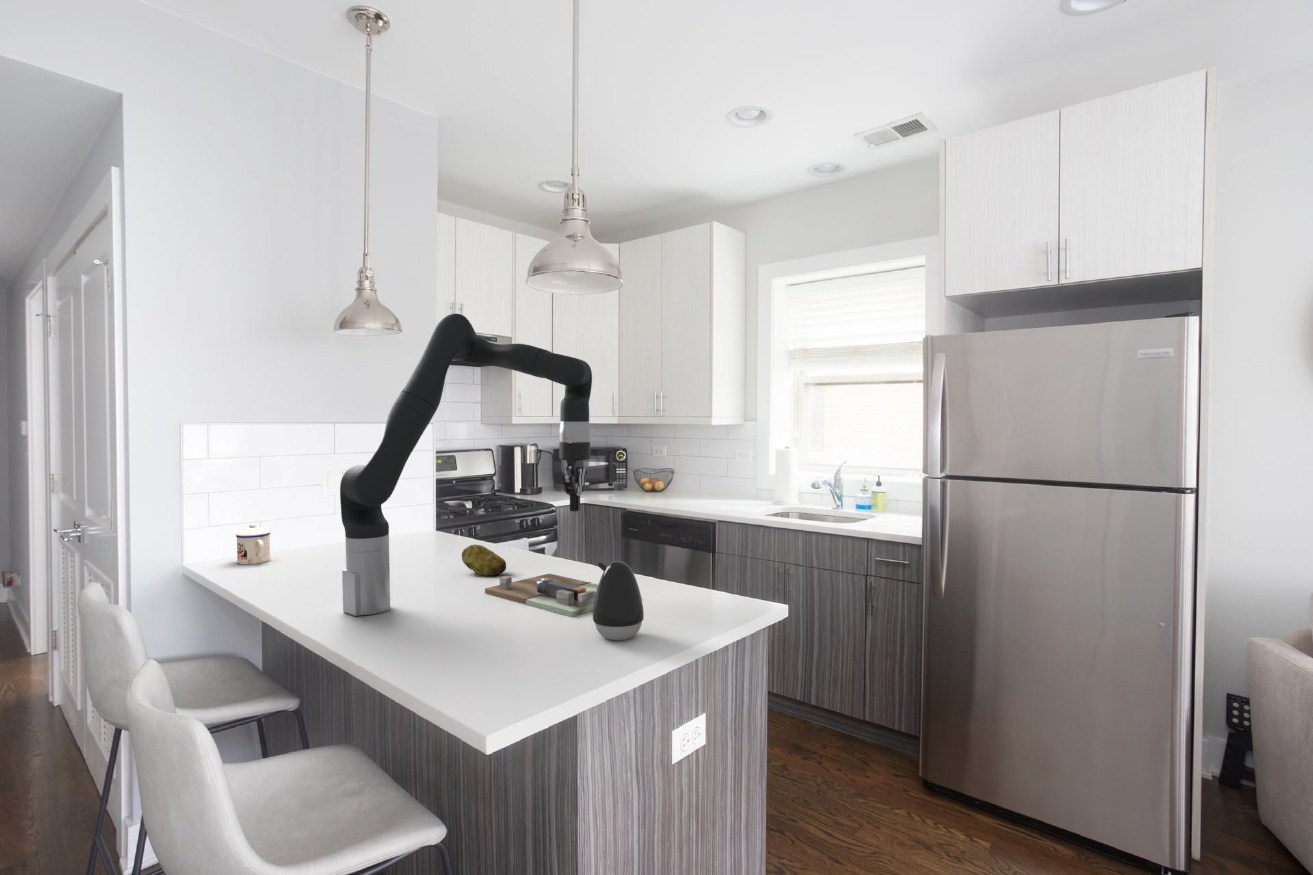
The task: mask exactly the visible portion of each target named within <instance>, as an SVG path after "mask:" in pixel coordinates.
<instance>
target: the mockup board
mask: <svg viewBox="0 0 1313 875" xmlns="http://www.w3.org/2000/svg"><path fill="white" fill-rule="evenodd" d="M543 578H548V579H553V581H557V582H561V583H565V584H569V585H574V586H578V587H583V588H586V592H584V593H580V594H578V601H574V592H571V591H567V590H563V589H562V590H558V591H556V596H555V595H551V594H547V593H538V592H537V580H539V579H543ZM598 585H599V583H595V582H591V581H585V580H581V579H575V578H571V577H567V576H562V575H560V574H559V575H558V574H554V573H550V572H549V573H546V574H541V575H537V576H533V577H528V578H524V579H519V580H515V581H512V577H511V576H508V575H504V576H499V585H494V586H490V587H489V586H488V587H486V588H484V593H485V594H486V595H490V596H495V597H497V598H501V599H505V600H508V601H513V602H515V603H519V604H523V605H525V606H526V605H527V606H530V607H533V608H537V609H541V610H545V611H548V612H553V613H555V614H559V615H563V616H566V617H569V618H574V617H576V616H580V615H584V614H586V613H590V612H593V608H594V601H595V596H596V592H597V588H598Z"/></svg>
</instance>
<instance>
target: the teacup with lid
mask: <svg viewBox="0 0 1313 875" xmlns="http://www.w3.org/2000/svg"><path fill="white" fill-rule="evenodd" d="M270 535H271V531H270V530H269V529H264V528H263V527H261V526H260V527H259V526H258V525H257V523H250V524H249V527H247V528H246V527H245V528H244V529H243V530H241V531H239V532H237V533H236V534H235V537H236V549H237V550H236V555H237V556H236V557H237V563H238V564H239V565H246V566H247V565H259V564H263V563H267V562H269V561H270V560H271V551H270V550H271V546H270V545H271V544H270Z"/></svg>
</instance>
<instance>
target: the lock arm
mask: <svg viewBox="0 0 1313 875" xmlns="http://www.w3.org/2000/svg"><path fill="white" fill-rule="evenodd" d="M562 589H563V590H567V591H571V592H574V601H578V594H580V593H584V592H586V588H583V587H578V586H574V585H569V584H565V583H561V582H557V581H553V579H548V578H543V579H539V580H537V592H538V593H547V594H551V595H555V596H556V591H558V590H562Z"/></svg>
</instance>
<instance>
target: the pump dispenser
mask: <svg viewBox="0 0 1313 875" xmlns="http://www.w3.org/2000/svg"><path fill="white" fill-rule="evenodd" d="M597 567H599V569H601V570H602V571H603V572H602V574H601V576H600V579H599V582H598V584H599V585H598V588H597V592H596V596H595V601H594V608H593V611H592V620H593V623H594V626H595V629H596V630H597V632H598V634H599V635H601V637H603V638H604V639H606V640H609V641H617V642H618V641H619V642H621V641H626V640H629V639H631V638H633V637H634V636H636V635H637V634H638V633H639V631H640V629H641V626H642V624H643V621H644V616H645V613H644V604H643V599H642V594H641V591H640V587H639V585H638V581H637V578H636V575H635V573H634V572H633V569H632V568H631V566H629V565H628V564H627V563H625V562H624V561H619V560H615V561H613V562H610V563H609V564H608V565H607V564H605V563H604V562H602V561H599V562H598V563H597Z"/></svg>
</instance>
